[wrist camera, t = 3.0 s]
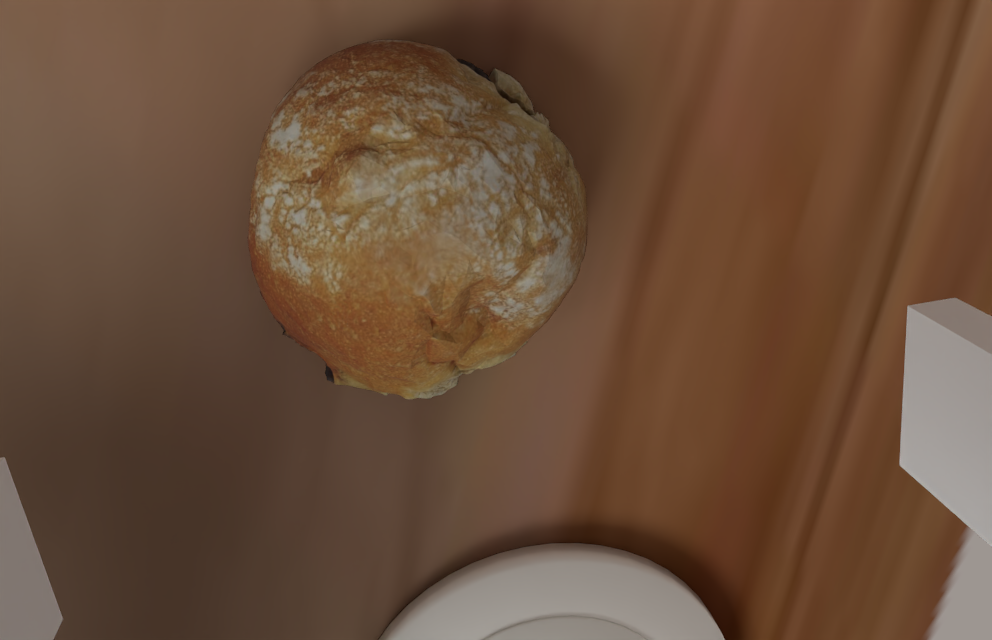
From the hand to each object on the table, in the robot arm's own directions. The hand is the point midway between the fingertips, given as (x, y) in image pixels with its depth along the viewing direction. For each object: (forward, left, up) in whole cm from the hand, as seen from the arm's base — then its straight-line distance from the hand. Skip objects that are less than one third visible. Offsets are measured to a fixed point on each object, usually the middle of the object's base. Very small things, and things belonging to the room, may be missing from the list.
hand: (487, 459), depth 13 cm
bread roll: (0, 0, -17) cm, 17 cm away
